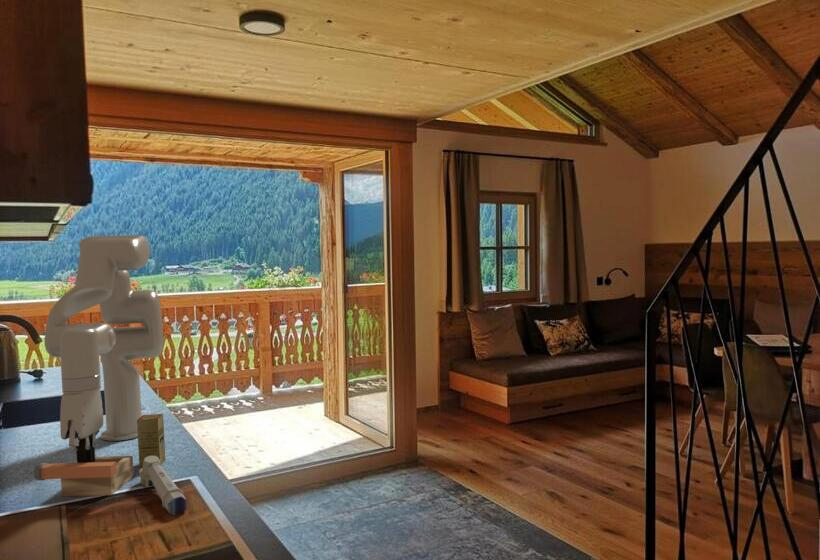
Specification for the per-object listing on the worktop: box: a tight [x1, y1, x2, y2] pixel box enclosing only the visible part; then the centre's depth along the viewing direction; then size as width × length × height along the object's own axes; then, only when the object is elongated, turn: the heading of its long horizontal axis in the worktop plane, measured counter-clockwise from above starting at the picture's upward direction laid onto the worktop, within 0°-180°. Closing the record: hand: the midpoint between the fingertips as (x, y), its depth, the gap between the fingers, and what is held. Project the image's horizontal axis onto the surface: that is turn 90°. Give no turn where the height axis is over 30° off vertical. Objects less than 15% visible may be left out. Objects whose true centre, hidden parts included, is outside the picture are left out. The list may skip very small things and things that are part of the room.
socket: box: [60, 455, 135, 497], centre depth 143 cm, size 11×11×5 cm
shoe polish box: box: [137, 413, 166, 468], centre depth 157 cm, size 5×5×12 cm
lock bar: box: [33, 462, 117, 481], centre depth 135 cm, size 4×16×4 cm, turn 90°
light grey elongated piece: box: [138, 456, 188, 516], centre depth 136 cm, size 5×7×25 cm
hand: (86, 465), depth 138 cm, fingers closed
